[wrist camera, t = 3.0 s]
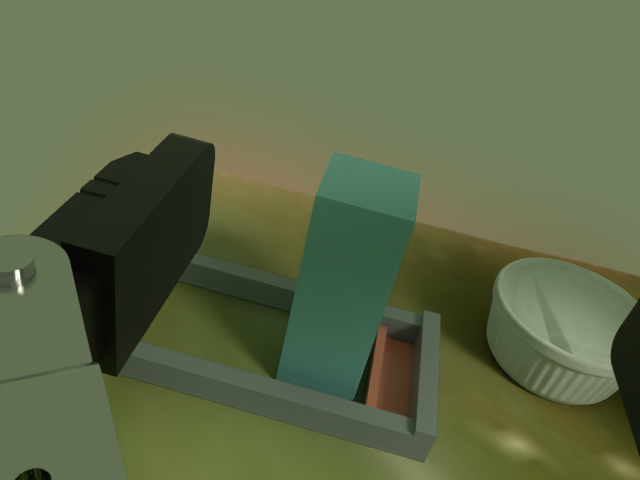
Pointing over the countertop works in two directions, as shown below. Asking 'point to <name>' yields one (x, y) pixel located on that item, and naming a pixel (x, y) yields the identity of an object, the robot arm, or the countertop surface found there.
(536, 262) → the ramekin
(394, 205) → the teal block
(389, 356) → the grey rectangular frame
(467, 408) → the countertop surface
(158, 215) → the robot arm
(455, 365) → the countertop surface
